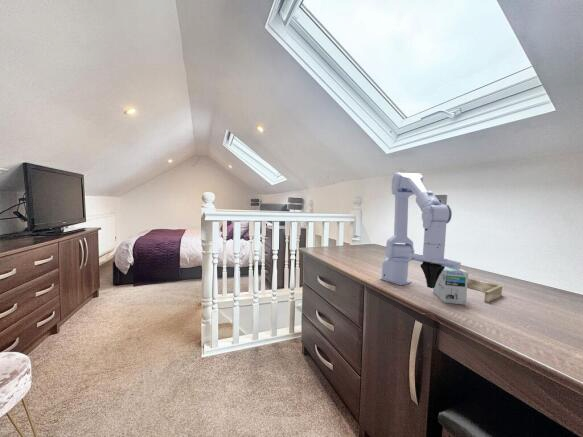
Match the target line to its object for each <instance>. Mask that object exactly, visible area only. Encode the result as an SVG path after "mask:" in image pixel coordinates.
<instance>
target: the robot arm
mask: <svg viewBox="0 0 583 437" xmlns="http://www.w3.org/2000/svg"><path fill="white" fill-rule="evenodd" d="M391 179H392V180H391V194H392V195H394V225H393V226H394V227H393V229H394V231H393V236H391V237H390V238H388V239H387V241H386V245H385V249H384V252H385V256H386V258H385V259H383V261H382V266H381V278H380V280H383V281H385V282H389V283H392V284H395V285H399V286H404V285H408V284H411V283H412V280H410V279H408V274H409V262H411V261H415V262H420V263H421V264H420V268H421V271H422V272H423V274H424V278H425V281H426V286H427V288H429V289H433V288H435V285H436V282H437V279H438V277H439V275H440V274H441V272H442V271H443V270H444V268H445V267H449V268H454V269H456V270H458V269H461V265H462V264H461V263H462V262H460V261H455V260H450V259H446V258H445V249H446V248H445V247H446V235H447V224H449V223H450V222H451V220H452V216H453V211H452V208H451V207H450V205H449V204H444V203H441V202H440V200H439V199H438V198H437V196H435V194H434V192H433V191H432V190H427V189H426V187H425V185H424V176H423V175H422V173H420V172H416V173H415V172H414V173H412V172H411V173H410V172H399V171H398V172H395V173H394V175H393V176H392V178H391ZM413 195H415V202H416V205H417V206H418V207H419V209H420V210H421V212H422V213H421V220H422V229H424V231H423V233H424V234H423V246H422V247H423V250H422V254H417V253H415V248H414V241H413V240H412V239H410V238H409V237H408V226H409V225H408V218H409V199H410V196H413Z"/></svg>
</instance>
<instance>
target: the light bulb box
mask: <svg viewBox="0 0 583 437" xmlns="http://www.w3.org/2000/svg"><path fill="white" fill-rule="evenodd" d="M468 278H469V272H468V271H467V270H464V269H462V268H460V269H458V270H456V269H454V268H449V267H445V268H444V270H443V271H442V272H441V274H440V275H439V277H438V279H437V282H436V285H435V288H432V289H433V291H432V292H433V294H435V296H437V297H438V299H440V300H441V301H442V303H445V304H455V305H463V306H466V305H467V296H468V294H467V292H468V288H467V283H468Z"/></svg>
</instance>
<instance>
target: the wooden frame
mask: <svg viewBox="0 0 583 437" xmlns="http://www.w3.org/2000/svg"><path fill="white" fill-rule="evenodd" d="M467 289H472V290H476V291H480V292H484V303H487V304H490V302H493V301H494V300H497V299H498V298H500V297H502V295H503V285H499V284H495V283H492V282H486V281H481V280H477V279H472V278H470V277H468V283H467Z"/></svg>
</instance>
